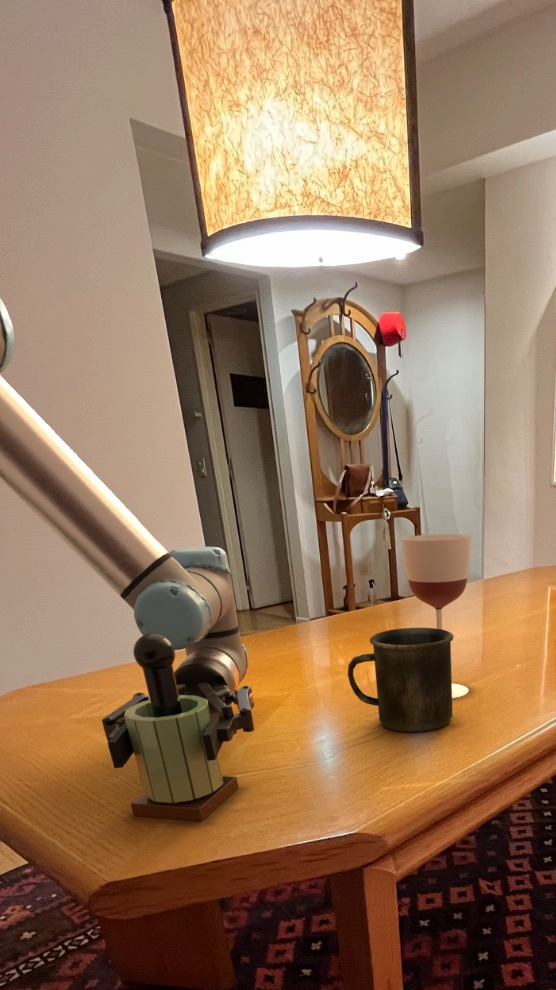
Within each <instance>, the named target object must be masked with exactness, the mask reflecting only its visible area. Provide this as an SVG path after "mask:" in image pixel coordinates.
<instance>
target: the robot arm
mask: <svg viewBox="0 0 556 990" xmlns="http://www.w3.org/2000/svg"><path fill="white" fill-rule="evenodd" d="M14 350H15V332H14V326H13V323H12V320H11V317H10V315H9V312H8V310H7V308H6V305H5V303H4V302H3V300H2V299H1V297H0V374H2V373H4V371H5V370H6V369H7V368H8V366H9V364H10V363H11V361H12V359H13V354H14ZM0 481H1V482H2V483H3V484H5V486H6V487H7V488H8V489H9V490H11V492H13V493H14V494H15V495H16V496H17V497H18V499H20V500H21V501H22V502H23V503H24V504H25V505H26V506H27V507H28V508H29V509H30V510H31V511H32V512H33V513H34V514H35V515H36V516H37V517H38V518H39V519H40V520H41V521H42V522H43V523H44V524H46V526H47V527H49V529H51V530H52V531H53V532H54V533H55V534H56V535H57V537H58V538H59V539H61V540H62V541H63V542H64V543H65V544H66V545H67V546H68V547H69V548H70V549H71V550H72V551H73V552H74V553H75V554H76V555H77V556H78V557H79V558H80V559H82V561H83V562H85V564H87V566H89V567H90V569H92V570H93V571H94V572H95V573H96V574H97V575H98V577H100V578H101V579H102V580H103V582H104V583H106V585H108V586H109V587H110V588H111V589H112V590H113V591H114V592H115V593H116V594H117V595H118V596H119V597H120V598H121V599H122V600H124V602H125V603H127V605H128V606H129V607H130V608H131V609H132V610H133V618H134V621H135V625H136V626H137V629H138V631H139V632H140V633H141V636H143V635H146V634H150V633H155V634H160V635H162V636H164V637H166V638H167V639H168V640H169V641H170V642H171V643H172V645H173V647H174V649H175V651H180V650H184V649H185V654H186V657H185V658H184V659H183V660H182V661H181V663H180V664H179V666H178V667H177V668H176V669H175V671H174V674H175V679H176V684H177V688H178V693H179V696H180V695H190V696H199V697H201V698H204V699H206V700H208V705H209V710H210V715H211V720H210V722H209V724H208V726H207V727H206V729H205V731H204V733H203V735H202V737H203V741H204V746H205V751H206V756H207V761H210V760H216V757H217V755H219V752H220V750H221V748H222V746H223V743H225V742H230V741H231V740H233V738H234V736H235V735H236V734H237V733H238V731H239V730H242V731H243V732H245V733H251V732H254V731H255V726H254V725H255V724H254V720H253V719H254V718H253V715H252V710H253V708H254V707H255V701H254V694H253V689H252V686H251V685H247V684H246V685H243V686H241V687H240V688H239V685H240V683H241V682H242V681H243V680H244V678H245V676H246V674H247V670H248V668H249V655H248V650H247V648H246V646H245V645H244V642H242V638H241V631H240V627H239V626H240V625H239V622H238V614H237V607H236V601H235V600H236V599H235V594H234V588H233V587H234V586H233V581H232V580H233V579H232V577H233V573H232V571H231V569H230V565H229V564H230V563H229V560H228V555H227V553H226V551H225V550H224V549H222V548H221V547H217V546H189V547H188V546H187V547H181V548H175V549H172V550H171V551H168V550H167V548H165V546H163V545H162V543H161V542H160V541H159V540H158V539H157V538H156V537H155V536H154V535H153V534H152V533H151V532H150V531H149V530H148V528H146V527H145V526H144V525H143V523H142V522H141V521H140V520H139V519H138V518H137V517H136V516H135V515H134V514H133V513H132V512H131V510H129V509H128V507H126V505H125V504H124V503H122V502H121V500H119V498H118V497H117V496H116V495H115V494H114V493H113V492H112V491H111V490H110V489H109V488H108V487H107V486H106V484H104V482H103V481H101V479H100V478H99V477H98V476H97V475H96V474H95V473H94V471H92V469H90V468H89V467H88V465H86V464H85V462H84V461H82V460H81V459H80V458H79V457H78V455H77V454H76V453H75V452H74V451H73V450H72V449H71V448H70V447H69V446H68V445H67V444H66V443H65V441H64V440H63V439H62V438H60V436H59V435H58V434H56V432H55V431H54V430H53V429H52V428H51V427H50V426H49V425H48V424H47V423H46V422H45V421H44V420H43V419H42V417H41V416H40V415H39V414H38V413H37V412H36V411H35V410H34V409H33V408H32V407H31V406H30V405H29V404H28V403H27V402H26V401H25V399H23V397H21V395H20V394H19V393H18V392H17V390H15V389H14V388H13V387H12V386H11V385H10V384H9V383H8V382H7V381H6V380H5V378H3V377H2V375H0ZM147 700H150V698H149V694H148V695H146V694H145V692H135V693H134V694H133V695H132V698H131V699H130V700H128V701H127V702H125V703H124V704H123V705H121V706H119V707H118V708H117V709H115V710H114V711H112V712H111V713H109V714H108V715H106V716H104V717H103V718H102V719H101V723H102V727H103V730H104V734H105V738H106V741H107V747H108V750H109V753H110V757H111V760H112V764H113V767H114V769H123V768H124V767H125V765H126V764H127V762H128V761H129V759H131V757H132V755H134V751H133V748H132V744H131V740H130V736H129V732H128V728H127V725H126V721H125V717H124V714H125V711H126V710H127V709H128V708H130V707H132V706H134V705H136V704H138V703H140V702H143V701H147ZM233 704H234V705H236V708H237V710H239V712H238V713H234V709H233Z"/></svg>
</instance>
